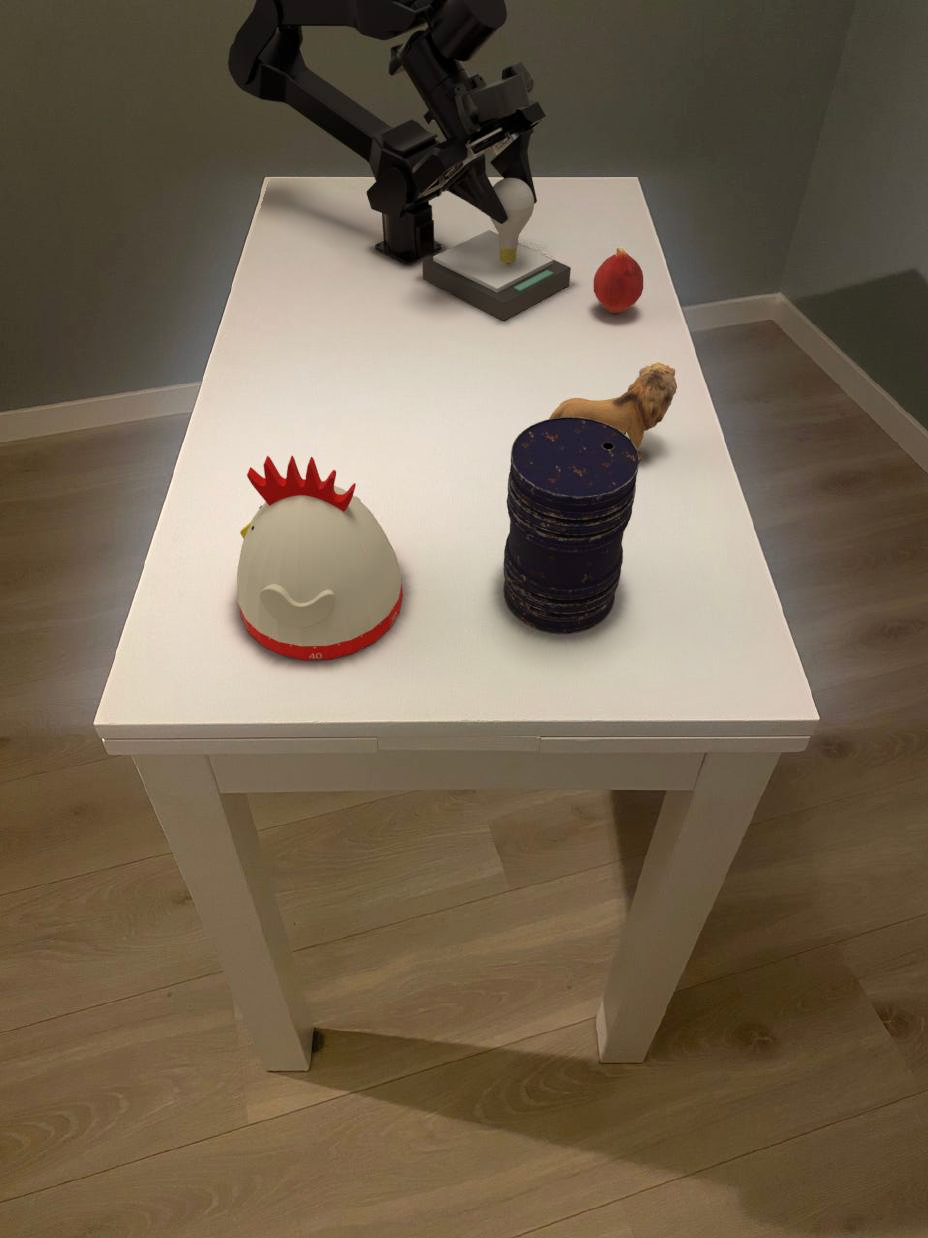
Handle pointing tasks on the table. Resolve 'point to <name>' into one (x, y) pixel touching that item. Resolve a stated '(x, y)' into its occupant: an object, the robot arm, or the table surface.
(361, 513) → the kitchen timer
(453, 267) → the kitchen scale
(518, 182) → the light bulb
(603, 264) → the onion
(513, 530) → the rusty blue oil drum
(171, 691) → the table surface
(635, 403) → the lion figurine
